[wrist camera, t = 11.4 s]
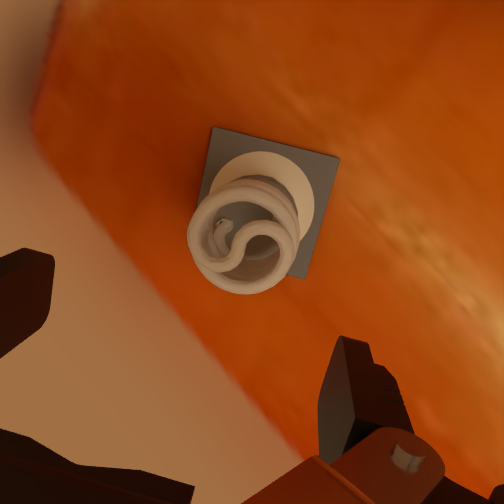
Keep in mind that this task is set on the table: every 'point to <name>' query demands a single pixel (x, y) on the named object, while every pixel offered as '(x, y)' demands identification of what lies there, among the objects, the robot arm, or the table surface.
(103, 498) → the robot arm
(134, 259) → the table surface
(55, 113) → the table surface
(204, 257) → the light bulb
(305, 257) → the pad
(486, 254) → the table surface
